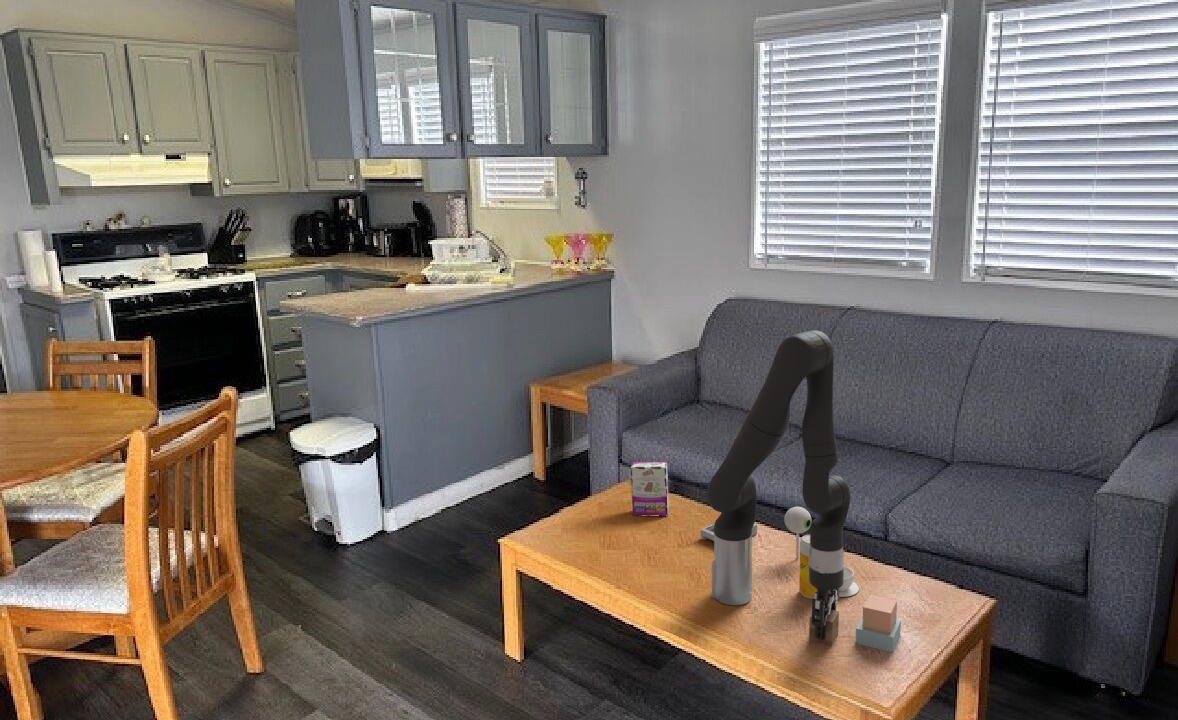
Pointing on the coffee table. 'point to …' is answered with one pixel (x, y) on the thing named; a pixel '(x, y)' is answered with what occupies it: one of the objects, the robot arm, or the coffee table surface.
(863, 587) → the coffee table surface
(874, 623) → the tower top
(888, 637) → the tower base
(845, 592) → the teacup
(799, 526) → the lollipop
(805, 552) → the beer can
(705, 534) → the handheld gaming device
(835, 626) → the walnut block
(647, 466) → the candy bar box
